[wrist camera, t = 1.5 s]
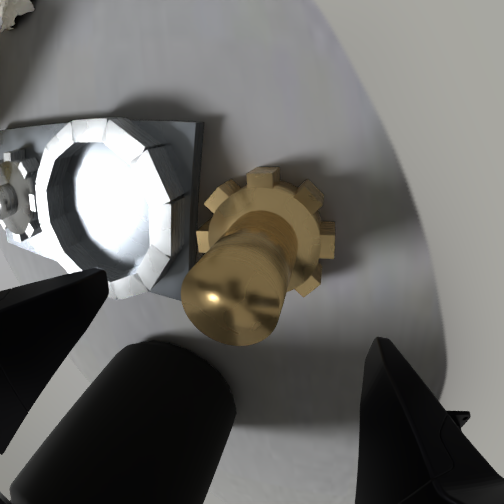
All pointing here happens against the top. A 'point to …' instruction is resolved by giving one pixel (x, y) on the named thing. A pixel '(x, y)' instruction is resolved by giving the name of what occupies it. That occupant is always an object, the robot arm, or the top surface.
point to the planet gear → (255, 256)
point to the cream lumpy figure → (13, 11)
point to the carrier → (116, 198)
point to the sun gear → (19, 195)
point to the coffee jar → (136, 434)
